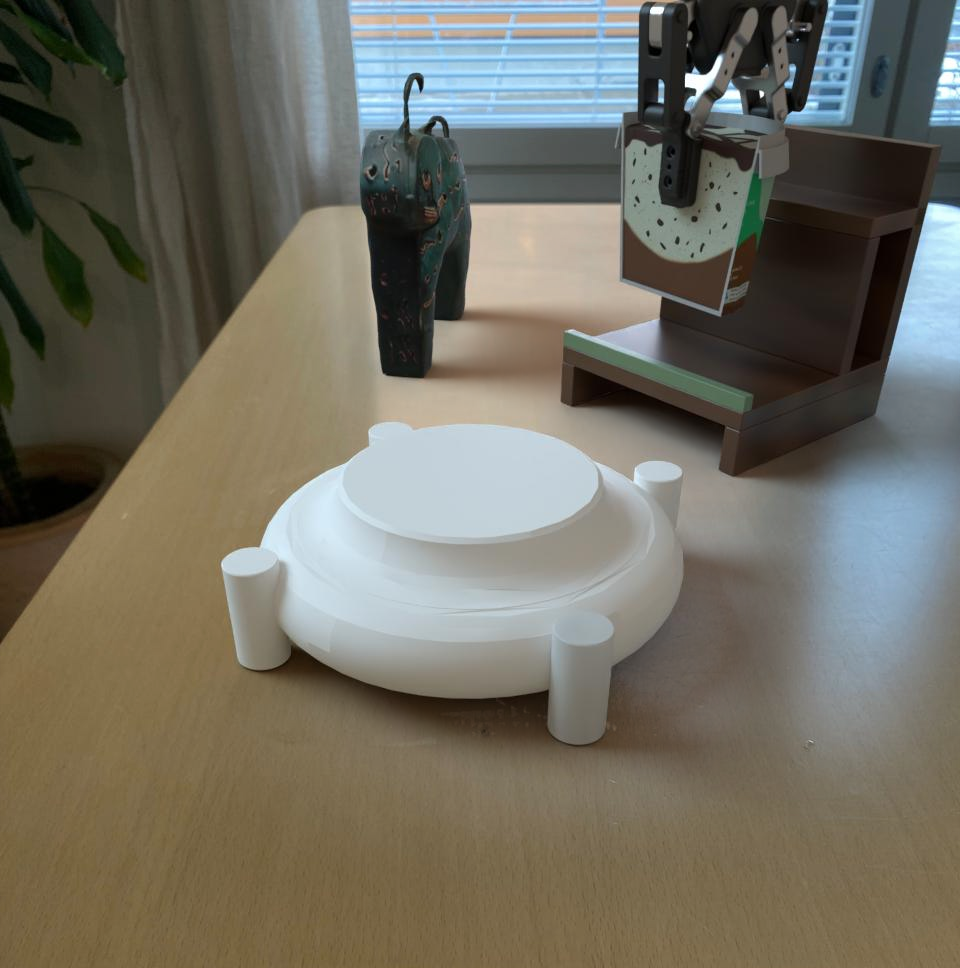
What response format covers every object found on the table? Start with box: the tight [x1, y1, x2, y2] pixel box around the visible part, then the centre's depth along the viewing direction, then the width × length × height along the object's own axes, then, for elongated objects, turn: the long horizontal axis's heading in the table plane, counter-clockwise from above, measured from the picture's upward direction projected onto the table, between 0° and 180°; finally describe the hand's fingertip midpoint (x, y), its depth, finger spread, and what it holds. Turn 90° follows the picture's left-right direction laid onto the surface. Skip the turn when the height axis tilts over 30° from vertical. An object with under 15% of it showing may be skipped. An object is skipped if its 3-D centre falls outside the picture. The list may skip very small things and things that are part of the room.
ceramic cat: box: [359, 72, 473, 378], centre depth 77 cm, size 20×6×20 cm, turn 168°
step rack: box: [560, 122, 943, 477], centre depth 66 cm, size 16×16×17 cm
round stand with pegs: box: [220, 421, 684, 746], centre depth 48 cm, size 24×24×7 cm
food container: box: [614, 109, 789, 317], centre depth 61 cm, size 12×6×10 cm, turn 34°
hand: (714, 197), depth 61 cm, fingers closed on food container, 6 cm apart
